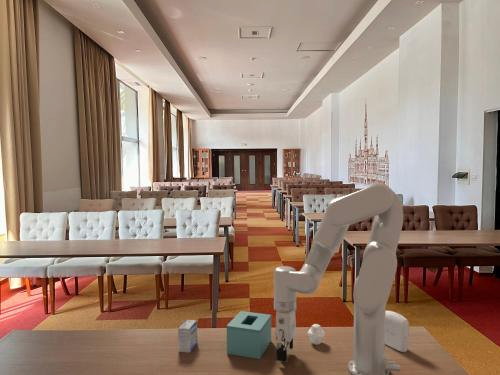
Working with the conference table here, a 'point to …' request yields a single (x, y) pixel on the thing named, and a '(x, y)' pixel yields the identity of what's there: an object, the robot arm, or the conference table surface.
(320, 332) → the white carved egg
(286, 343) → the tan wooden brick
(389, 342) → the photo printer
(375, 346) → the robot arm
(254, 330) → the teal slotted box
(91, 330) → the conference table surface
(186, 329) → the medicine box
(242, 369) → the conference table surface
